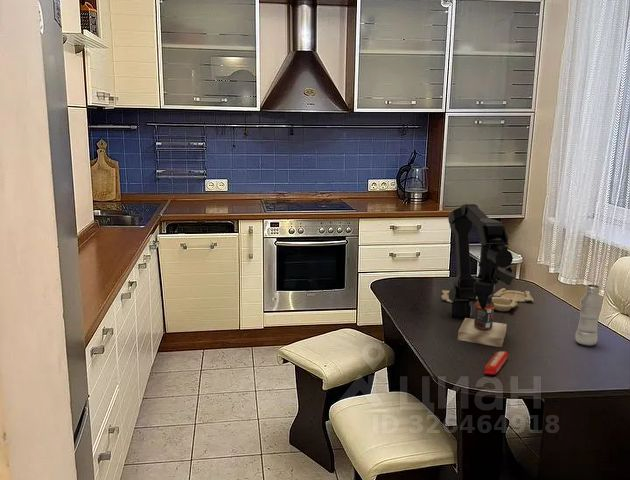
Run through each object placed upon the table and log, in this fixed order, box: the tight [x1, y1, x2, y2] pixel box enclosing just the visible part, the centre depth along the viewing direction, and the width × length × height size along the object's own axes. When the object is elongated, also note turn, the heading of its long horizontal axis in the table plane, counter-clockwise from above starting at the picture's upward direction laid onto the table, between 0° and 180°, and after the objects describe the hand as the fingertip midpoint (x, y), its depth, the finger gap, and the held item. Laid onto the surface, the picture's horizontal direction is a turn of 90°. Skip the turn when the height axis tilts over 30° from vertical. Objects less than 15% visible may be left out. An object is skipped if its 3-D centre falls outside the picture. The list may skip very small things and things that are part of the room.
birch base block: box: [457, 317, 508, 348], centre depth 193 cm, size 14×14×3 cm
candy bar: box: [483, 351, 509, 376], centre depth 170 cm, size 16×4×3 cm, turn 148°
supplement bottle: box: [474, 294, 495, 330], centre depth 191 cm, size 6×6×11 cm
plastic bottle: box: [574, 283, 603, 347], centre depth 186 cm, size 6×7×20 cm
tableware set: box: [440, 288, 535, 312], centre depth 232 cm, size 35×29×4 cm
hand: (485, 304), depth 191 cm, fingers open, 9 cm apart
